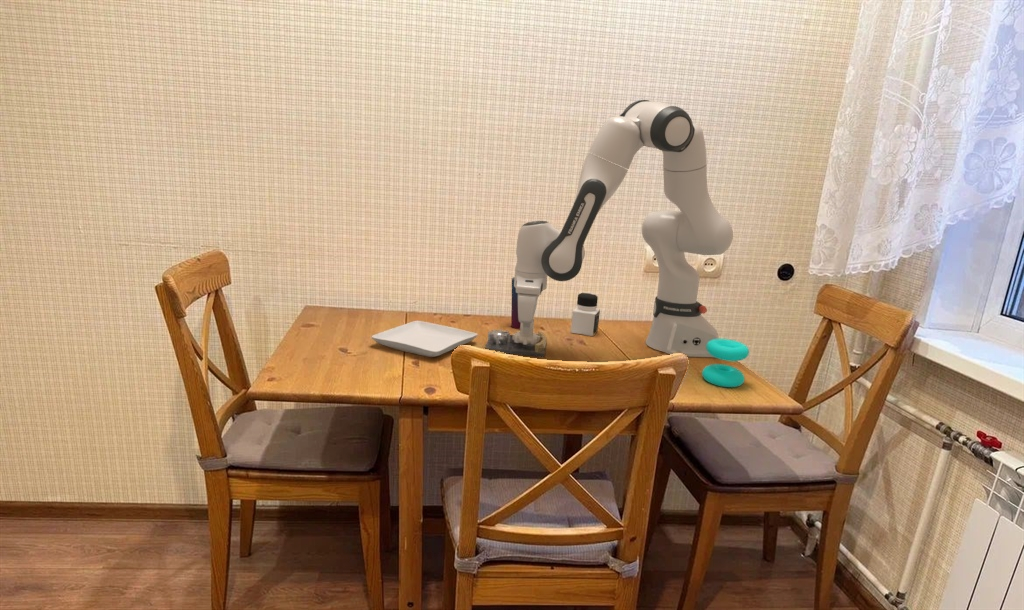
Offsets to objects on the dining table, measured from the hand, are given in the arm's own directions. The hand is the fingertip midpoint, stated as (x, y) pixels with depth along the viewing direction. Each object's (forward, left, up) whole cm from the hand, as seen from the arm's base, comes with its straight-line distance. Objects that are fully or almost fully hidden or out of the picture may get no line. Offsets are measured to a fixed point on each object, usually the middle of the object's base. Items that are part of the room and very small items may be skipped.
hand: (526, 330), depth 165 cm
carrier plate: (+3, 0, -5) cm, 6 cm away
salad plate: (+27, +6, -6) cm, 28 cm away
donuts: (-50, +12, -5) cm, 52 cm away
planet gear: (0, 0, -3) cm, 3 cm away
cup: (+4, -20, -5) cm, 21 cm away
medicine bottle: (-16, -21, -5) cm, 27 cm away
